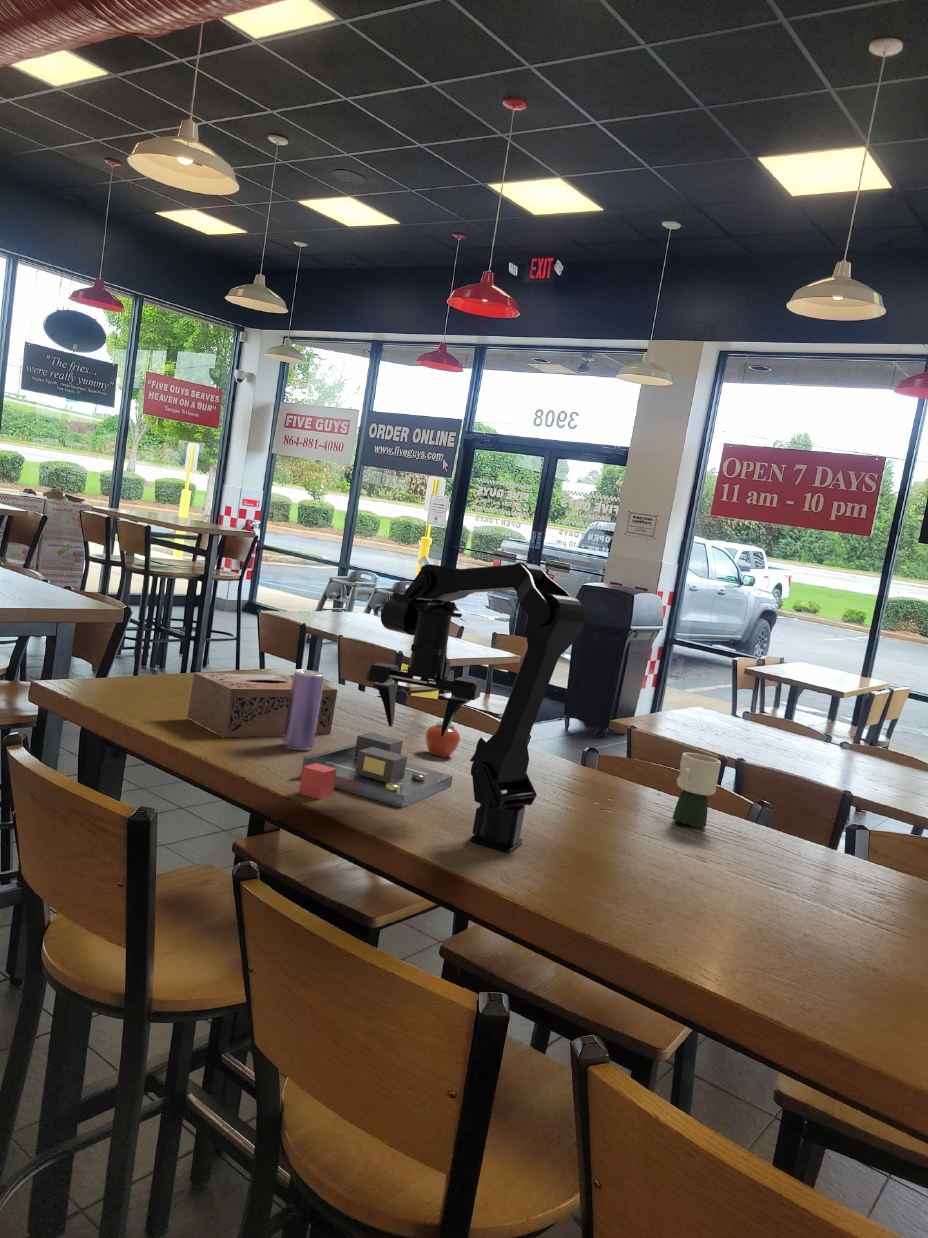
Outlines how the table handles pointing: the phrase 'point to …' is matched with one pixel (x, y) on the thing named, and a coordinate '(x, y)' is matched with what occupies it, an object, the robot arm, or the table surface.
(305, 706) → the beverage can
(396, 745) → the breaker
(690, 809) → the character mug
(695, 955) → the table surface
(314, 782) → the cap
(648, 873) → the table surface
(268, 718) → the tissue box cover
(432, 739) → the tomato
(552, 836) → the table surface
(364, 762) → the block
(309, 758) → the breaker panel
